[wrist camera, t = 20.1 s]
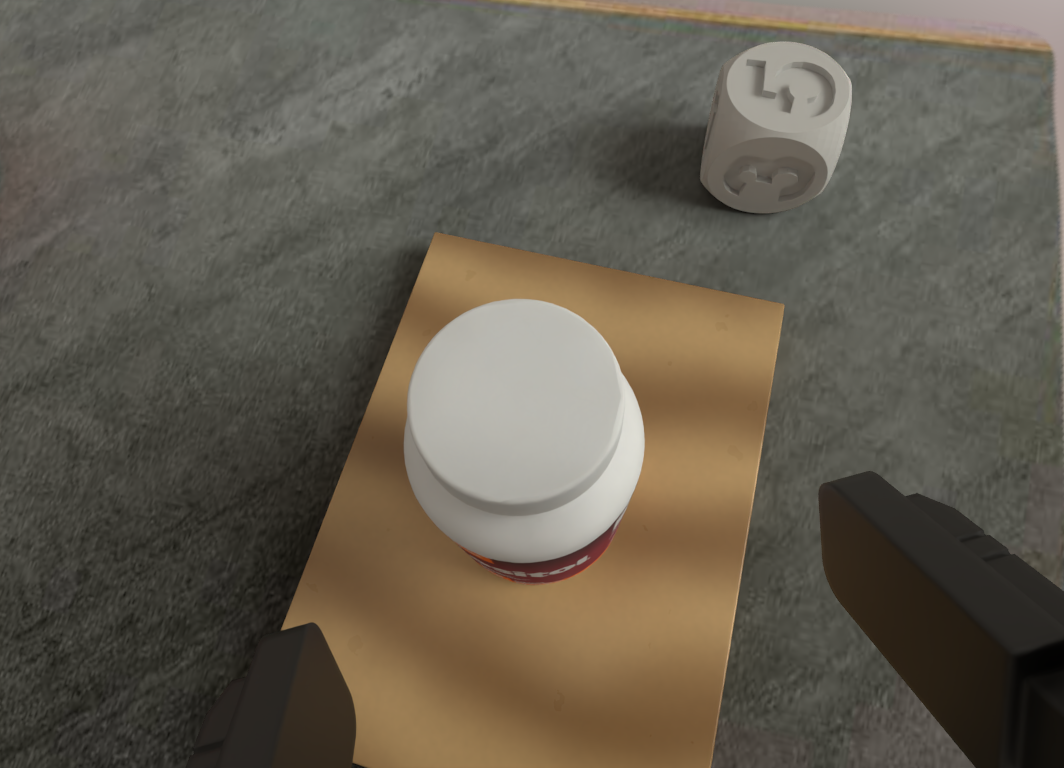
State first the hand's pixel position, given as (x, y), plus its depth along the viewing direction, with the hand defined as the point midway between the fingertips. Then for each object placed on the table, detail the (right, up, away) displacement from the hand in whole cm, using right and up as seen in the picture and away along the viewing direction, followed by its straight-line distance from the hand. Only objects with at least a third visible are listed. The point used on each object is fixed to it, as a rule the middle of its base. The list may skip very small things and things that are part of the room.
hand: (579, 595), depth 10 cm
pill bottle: (-1, -1, +14) cm, 14 cm away
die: (+10, +13, +21) cm, 26 cm away
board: (0, -1, +15) cm, 15 cm away
